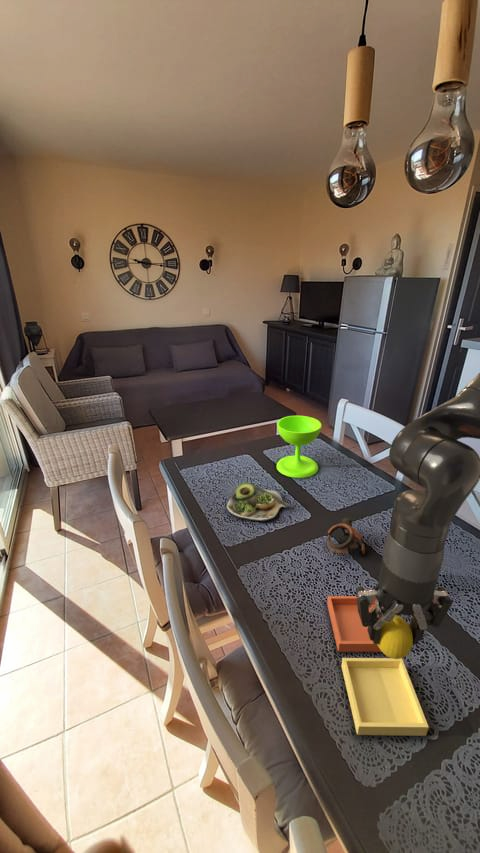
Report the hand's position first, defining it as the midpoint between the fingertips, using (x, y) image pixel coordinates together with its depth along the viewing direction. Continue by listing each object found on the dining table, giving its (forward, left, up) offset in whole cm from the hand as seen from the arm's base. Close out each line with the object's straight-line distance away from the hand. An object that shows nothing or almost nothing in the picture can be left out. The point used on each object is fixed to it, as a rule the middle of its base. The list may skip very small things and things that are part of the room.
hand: (393, 638), depth 59 cm
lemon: (0, 0, -4) cm, 4 cm away
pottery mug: (-3, -38, -15) cm, 41 cm away
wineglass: (+5, -81, -15) cm, 82 cm away
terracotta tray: (0, -14, -15) cm, 20 cm away
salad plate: (+22, -57, -15) cm, 63 cm away
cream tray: (0, 0, -15) cm, 15 cm away
